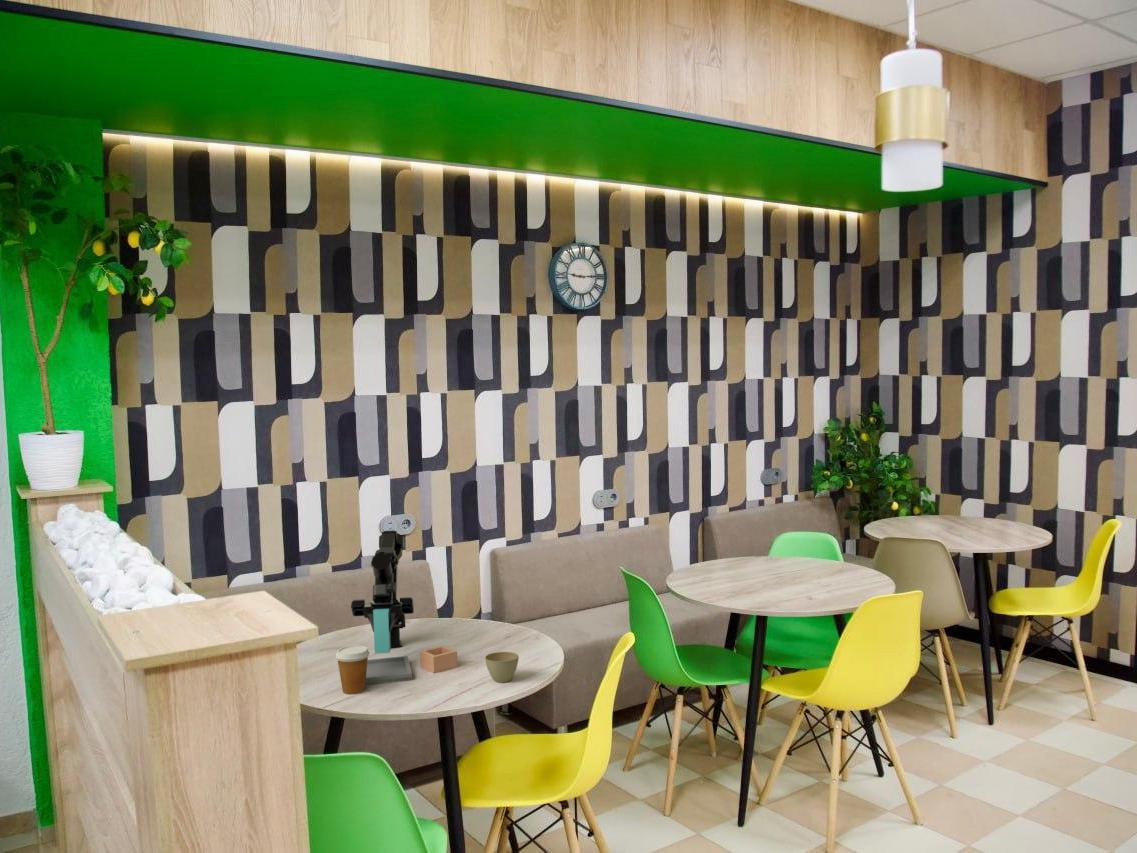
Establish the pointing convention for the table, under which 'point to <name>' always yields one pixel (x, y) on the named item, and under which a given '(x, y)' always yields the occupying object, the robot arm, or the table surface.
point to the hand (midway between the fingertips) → (381, 631)
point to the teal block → (381, 631)
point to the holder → (438, 659)
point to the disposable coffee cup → (353, 668)
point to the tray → (388, 670)
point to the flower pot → (502, 665)
